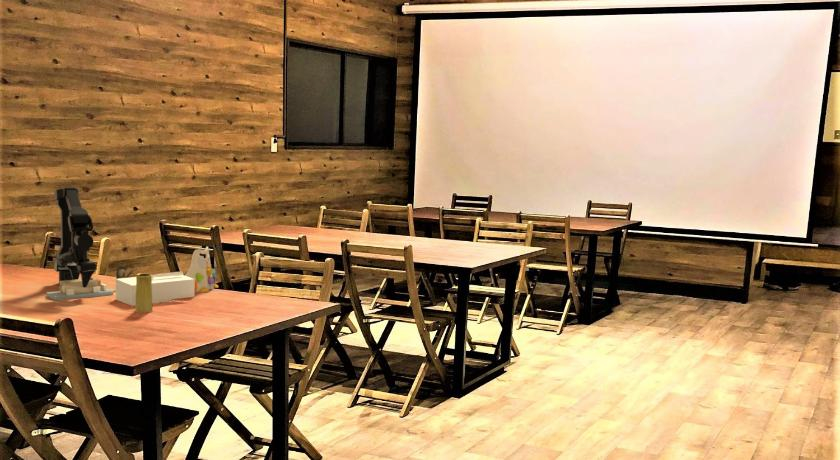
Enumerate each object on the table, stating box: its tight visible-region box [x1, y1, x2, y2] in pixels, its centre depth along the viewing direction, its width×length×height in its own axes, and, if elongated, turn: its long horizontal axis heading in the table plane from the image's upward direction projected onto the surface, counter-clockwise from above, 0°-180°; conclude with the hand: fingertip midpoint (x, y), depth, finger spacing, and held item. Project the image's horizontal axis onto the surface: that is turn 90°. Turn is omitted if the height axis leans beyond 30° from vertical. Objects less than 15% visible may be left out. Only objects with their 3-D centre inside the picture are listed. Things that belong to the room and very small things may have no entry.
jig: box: [45, 282, 114, 301], centre depth 336 cm, size 10×22×4 cm, turn 132°
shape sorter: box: [184, 246, 219, 293], centre depth 354 cm, size 20×10×18 cm, turn 169°
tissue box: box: [115, 271, 195, 307], centre depth 333 cm, size 14×25×11 cm, turn 132°
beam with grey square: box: [59, 277, 102, 295], centre depth 336 cm, size 4×14×5 cm, turn 132°
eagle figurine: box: [115, 266, 135, 280], centre depth 351 cm, size 8×7×9 cm
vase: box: [134, 272, 153, 314], centre depth 310 cm, size 6×6×14 cm
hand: (79, 285), depth 336 cm, fingers open, 9 cm apart
